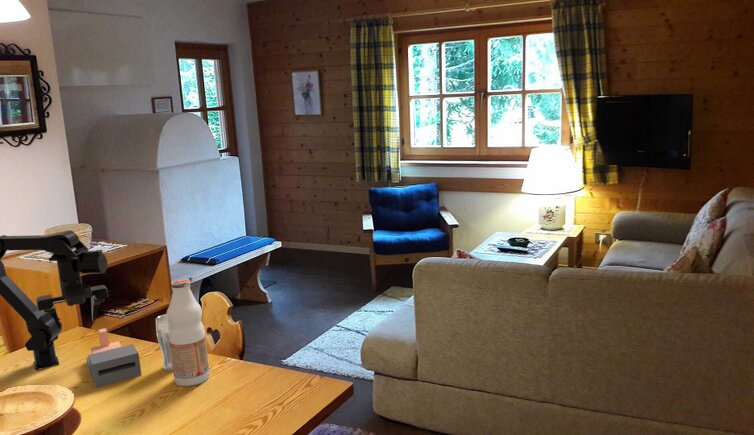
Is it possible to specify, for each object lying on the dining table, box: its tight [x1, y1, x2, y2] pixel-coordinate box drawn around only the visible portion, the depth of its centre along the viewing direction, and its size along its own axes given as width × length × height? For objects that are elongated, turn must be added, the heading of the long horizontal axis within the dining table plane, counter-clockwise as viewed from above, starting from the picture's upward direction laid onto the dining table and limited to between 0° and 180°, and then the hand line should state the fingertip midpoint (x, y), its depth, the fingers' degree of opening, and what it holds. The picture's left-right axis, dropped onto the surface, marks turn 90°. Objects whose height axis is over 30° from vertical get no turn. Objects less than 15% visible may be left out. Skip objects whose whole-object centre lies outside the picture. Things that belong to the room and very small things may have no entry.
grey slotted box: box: [85, 343, 142, 388], centre depth 178 cm, size 16×12×7 cm
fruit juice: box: [166, 278, 210, 387], centre depth 168 cm, size 9×9×28 cm
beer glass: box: [155, 313, 173, 372], centre depth 178 cm, size 7×7×15 cm
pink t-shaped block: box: [90, 328, 123, 354], centre depth 182 cm, size 16×8×5 cm, turn 32°
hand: (76, 324), depth 184 cm, fingers open, 9 cm apart
